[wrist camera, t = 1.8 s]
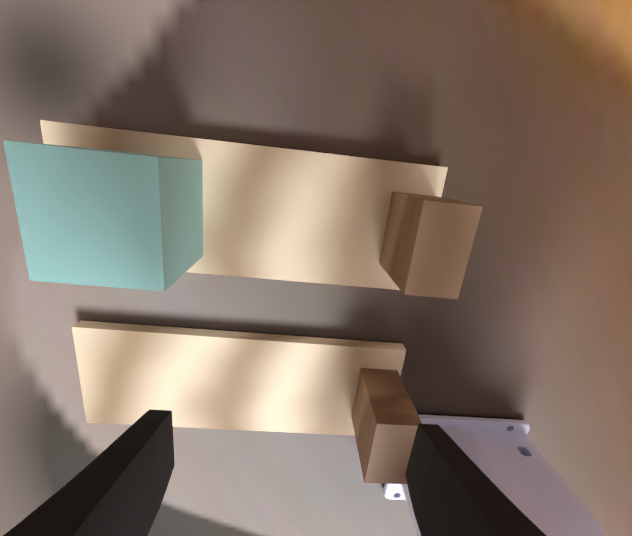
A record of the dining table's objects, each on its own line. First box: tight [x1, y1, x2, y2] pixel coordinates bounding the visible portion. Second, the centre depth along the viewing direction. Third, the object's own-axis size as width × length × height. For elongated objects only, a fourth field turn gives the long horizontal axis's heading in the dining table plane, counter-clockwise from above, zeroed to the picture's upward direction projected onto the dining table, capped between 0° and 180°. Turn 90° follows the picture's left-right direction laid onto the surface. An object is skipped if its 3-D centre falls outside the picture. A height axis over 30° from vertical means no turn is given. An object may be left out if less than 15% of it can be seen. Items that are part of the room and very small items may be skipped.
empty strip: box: [72, 320, 422, 484], centre depth 18 cm, size 20×7×5 cm, turn 84°
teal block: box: [3, 140, 203, 291], centre depth 14 cm, size 5×5×5 cm
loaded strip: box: [40, 120, 483, 299], centre depth 15 cm, size 20×7×5 cm, turn 84°
